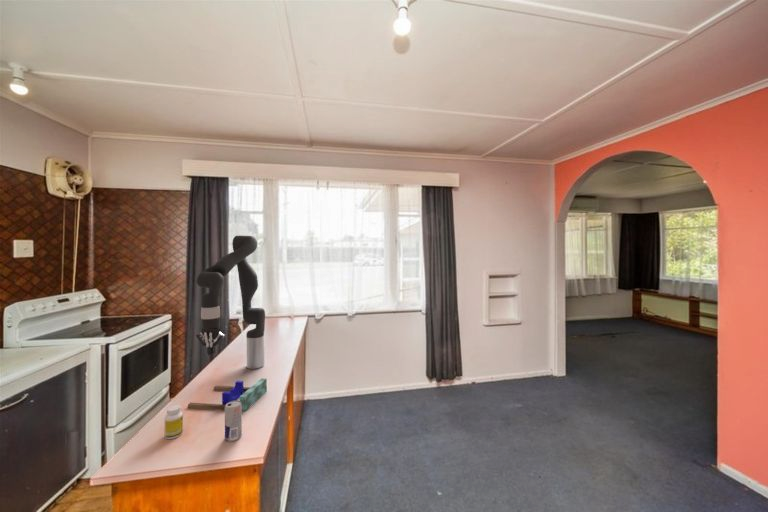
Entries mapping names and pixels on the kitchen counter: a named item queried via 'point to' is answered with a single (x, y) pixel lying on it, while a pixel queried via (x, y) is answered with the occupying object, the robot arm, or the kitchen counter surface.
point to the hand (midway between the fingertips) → (211, 354)
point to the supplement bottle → (173, 422)
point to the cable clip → (233, 393)
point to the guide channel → (246, 398)
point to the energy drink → (233, 421)
